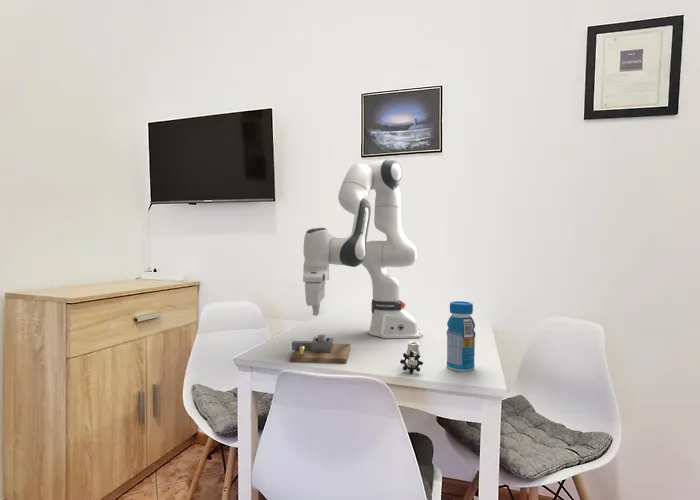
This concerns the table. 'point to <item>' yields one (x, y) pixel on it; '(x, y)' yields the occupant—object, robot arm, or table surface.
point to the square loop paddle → (314, 345)
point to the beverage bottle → (460, 337)
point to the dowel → (301, 350)
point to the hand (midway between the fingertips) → (316, 314)
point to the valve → (412, 357)
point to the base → (323, 354)
